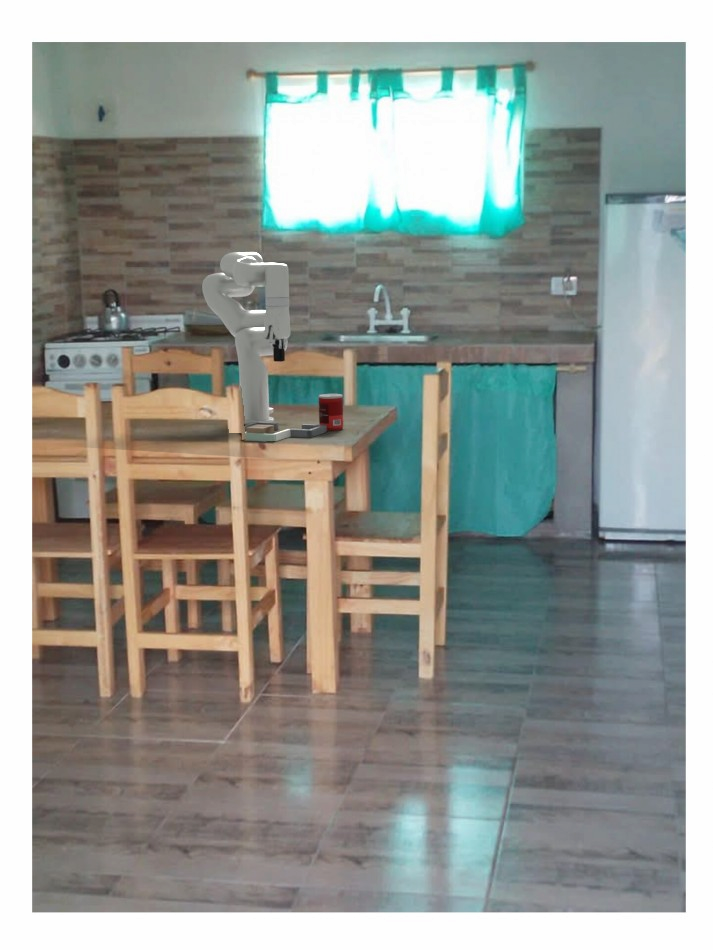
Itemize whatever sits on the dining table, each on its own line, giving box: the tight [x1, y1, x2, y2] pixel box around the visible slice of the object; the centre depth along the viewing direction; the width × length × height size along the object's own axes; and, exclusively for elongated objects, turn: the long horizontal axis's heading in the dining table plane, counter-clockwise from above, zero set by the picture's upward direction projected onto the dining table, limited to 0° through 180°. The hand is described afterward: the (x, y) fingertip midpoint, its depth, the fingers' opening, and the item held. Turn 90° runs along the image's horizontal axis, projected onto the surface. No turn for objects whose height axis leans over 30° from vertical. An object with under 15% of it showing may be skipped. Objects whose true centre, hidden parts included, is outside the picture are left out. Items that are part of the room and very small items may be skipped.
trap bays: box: [244, 422, 328, 438], centre depth 395 cm, size 11×25×2 cm, turn 66°
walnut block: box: [246, 425, 275, 434], centre depth 385 cm, size 7×6×4 cm
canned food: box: [318, 393, 344, 432], centre depth 401 cm, size 8×8×11 cm
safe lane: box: [245, 428, 292, 442], centre depth 385 cm, size 11×11×2 cm
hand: (279, 361), depth 398 cm, fingers closed
